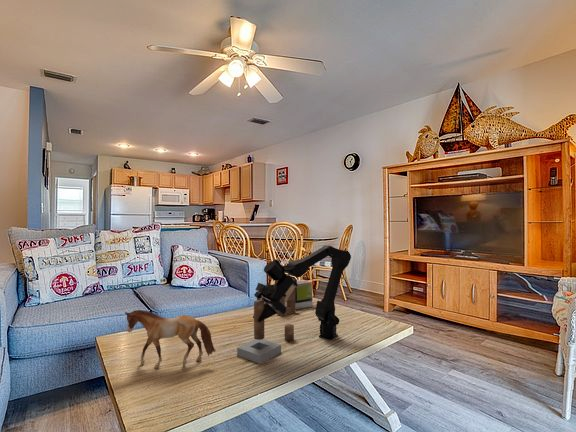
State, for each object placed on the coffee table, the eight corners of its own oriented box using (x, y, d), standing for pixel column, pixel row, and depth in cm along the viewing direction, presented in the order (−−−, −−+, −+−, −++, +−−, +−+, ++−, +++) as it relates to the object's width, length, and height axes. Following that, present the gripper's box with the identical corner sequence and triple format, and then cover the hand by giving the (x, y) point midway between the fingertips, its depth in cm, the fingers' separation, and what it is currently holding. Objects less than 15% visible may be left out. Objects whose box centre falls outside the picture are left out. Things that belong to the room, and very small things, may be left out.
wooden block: (295, 312, 170) (295, 280, 171) (281, 316, 163) (281, 283, 163) (290, 310, 173) (290, 279, 173) (276, 315, 165) (276, 282, 166)
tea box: (304, 302, 189) (304, 279, 190) (312, 307, 180) (312, 282, 180) (282, 306, 183) (282, 281, 183) (289, 310, 174) (289, 284, 174)
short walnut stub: (295, 339, 132) (295, 325, 132) (290, 342, 129) (290, 328, 129) (288, 337, 134) (288, 323, 135) (282, 340, 131) (282, 326, 131)
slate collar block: (281, 352, 119) (281, 344, 119) (260, 364, 110) (260, 355, 110) (258, 344, 126) (258, 337, 126) (237, 355, 117) (237, 347, 117)
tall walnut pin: (265, 335, 120) (264, 300, 120) (263, 339, 116) (263, 303, 116) (255, 335, 120) (254, 300, 120) (253, 339, 116) (252, 302, 116)
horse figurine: (122, 372, 104) (122, 312, 104) (132, 362, 112) (132, 305, 112) (215, 367, 107) (215, 309, 107) (218, 357, 115) (218, 303, 115)
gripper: (258, 271, 128) (233, 301, 123) (279, 279, 112) (251, 314, 107) (275, 288, 132) (251, 317, 127) (297, 297, 116) (271, 332, 110)
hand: (255, 319), depth 117 cm, fingers closed on tall walnut pin, 4 cm apart
